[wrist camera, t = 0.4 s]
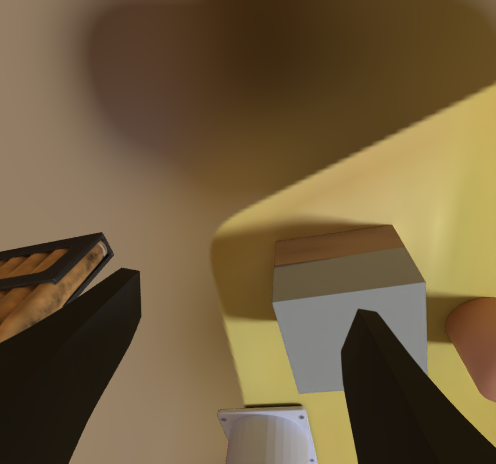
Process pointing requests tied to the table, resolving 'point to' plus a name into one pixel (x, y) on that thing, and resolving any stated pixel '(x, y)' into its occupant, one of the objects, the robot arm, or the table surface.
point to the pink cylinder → (476, 341)
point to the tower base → (336, 245)
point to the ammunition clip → (46, 278)
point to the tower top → (346, 310)
